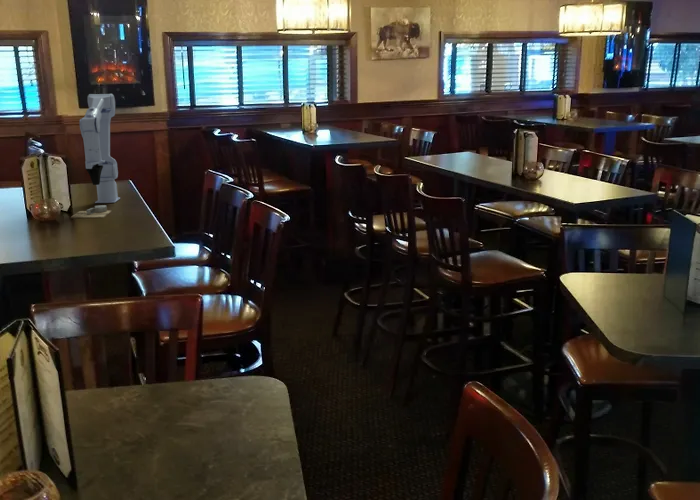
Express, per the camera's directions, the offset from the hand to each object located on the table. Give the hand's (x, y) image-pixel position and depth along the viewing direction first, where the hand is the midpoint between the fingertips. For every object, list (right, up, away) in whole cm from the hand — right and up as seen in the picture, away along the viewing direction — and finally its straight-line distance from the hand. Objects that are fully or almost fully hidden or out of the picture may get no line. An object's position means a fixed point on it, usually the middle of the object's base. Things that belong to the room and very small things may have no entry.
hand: (96, 184), depth 265 cm
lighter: (0, -9, -1) cm, 9 cm away
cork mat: (+1, -12, -7) cm, 14 cm away
